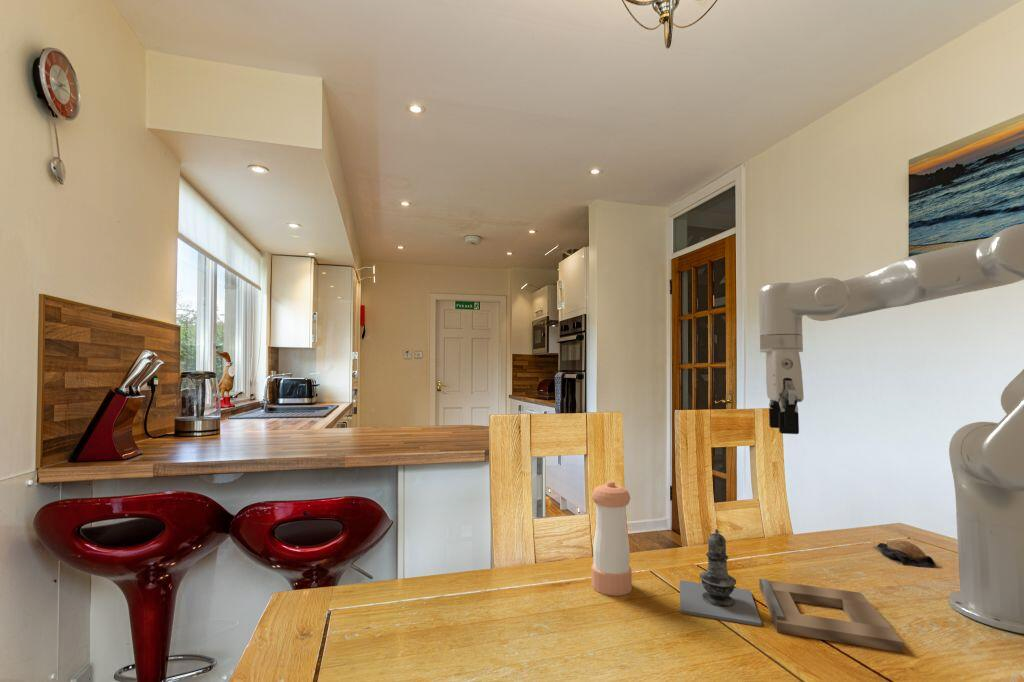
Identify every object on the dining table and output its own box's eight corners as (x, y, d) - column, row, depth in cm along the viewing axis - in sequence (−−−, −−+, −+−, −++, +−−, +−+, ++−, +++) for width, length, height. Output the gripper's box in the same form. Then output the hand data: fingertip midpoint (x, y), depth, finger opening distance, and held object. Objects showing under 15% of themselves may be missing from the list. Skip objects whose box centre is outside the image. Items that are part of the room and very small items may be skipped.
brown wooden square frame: (861, 601, 83) (861, 589, 83) (903, 652, 68) (902, 638, 68) (759, 587, 88) (759, 576, 88) (777, 632, 73) (776, 618, 73)
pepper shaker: (639, 591, 86) (638, 484, 87) (605, 598, 83) (604, 487, 84) (616, 575, 92) (616, 476, 94) (584, 581, 90) (584, 478, 91)
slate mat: (749, 592, 86) (749, 589, 86) (761, 626, 74) (761, 623, 74) (679, 582, 90) (679, 580, 90) (680, 613, 78) (680, 610, 78)
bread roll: (869, 549, 109) (868, 533, 109) (911, 552, 107) (910, 535, 108) (896, 568, 99) (896, 549, 99) (944, 571, 97) (943, 553, 97)
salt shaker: (729, 592, 85) (728, 524, 85) (742, 609, 79) (740, 535, 80) (695, 590, 85) (694, 522, 86) (705, 606, 79) (704, 533, 80)
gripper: (814, 342, 86) (817, 437, 85) (792, 346, 102) (794, 426, 101) (768, 342, 88) (770, 435, 87) (753, 347, 105) (755, 425, 104)
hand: (783, 430), depth 94 cm, fingers open, 9 cm apart
